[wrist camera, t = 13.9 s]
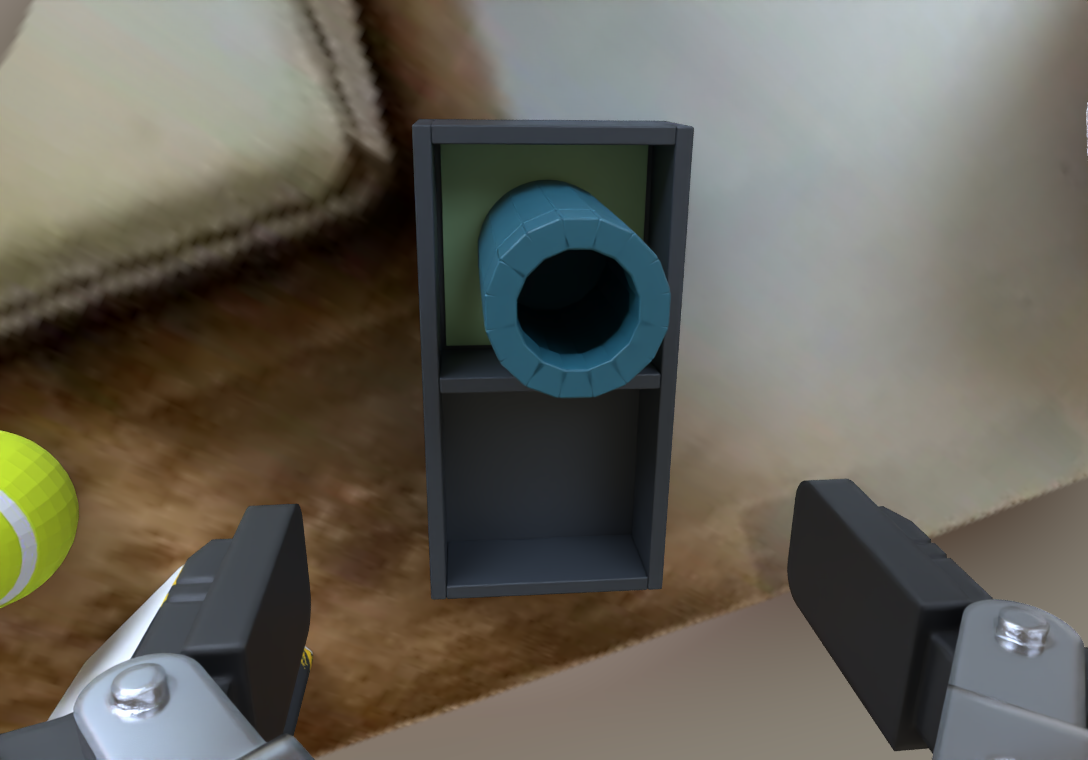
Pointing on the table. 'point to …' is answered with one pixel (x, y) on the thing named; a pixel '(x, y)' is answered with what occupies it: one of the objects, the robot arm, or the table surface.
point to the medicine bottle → (129, 642)
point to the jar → (569, 291)
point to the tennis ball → (32, 516)
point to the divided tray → (528, 415)
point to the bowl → (1087, 126)
